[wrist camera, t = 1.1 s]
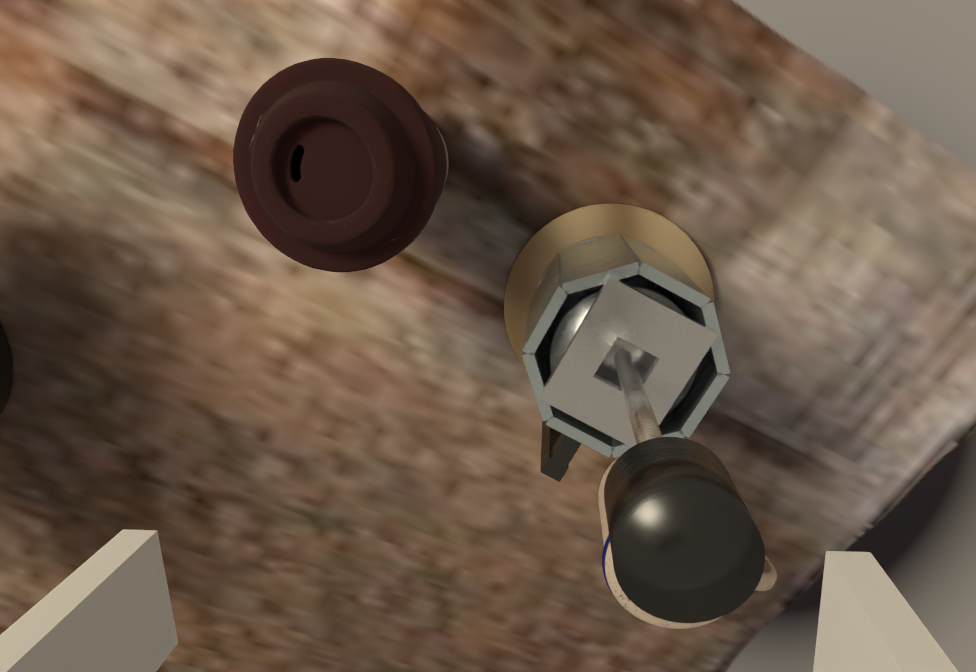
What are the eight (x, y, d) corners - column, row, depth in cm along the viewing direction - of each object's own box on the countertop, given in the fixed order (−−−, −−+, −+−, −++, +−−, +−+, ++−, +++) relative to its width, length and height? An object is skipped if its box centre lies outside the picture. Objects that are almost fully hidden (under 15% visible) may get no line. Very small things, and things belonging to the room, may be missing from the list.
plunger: (524, 380, 37) (498, 600, 19) (595, 258, 35) (638, 378, 17) (647, 444, 38) (731, 718, 20) (724, 327, 35) (897, 515, 18)
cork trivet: (506, 402, 49) (506, 405, 49) (502, 205, 45) (501, 206, 45) (706, 404, 48) (708, 407, 47) (718, 200, 44) (721, 201, 43)
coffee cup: (501, 164, 45) (476, 174, 30) (397, 266, 47) (329, 321, 33) (393, 47, 43) (313, 1, 29) (292, 159, 46) (173, 167, 31)
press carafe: (488, 372, 48) (466, 448, 36) (578, 207, 44) (588, 231, 32) (612, 437, 48) (632, 533, 37) (712, 279, 45) (770, 329, 33)
